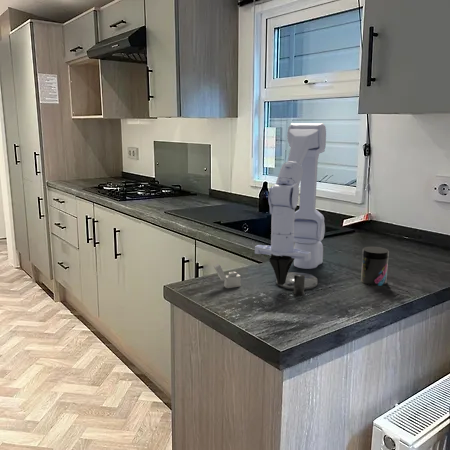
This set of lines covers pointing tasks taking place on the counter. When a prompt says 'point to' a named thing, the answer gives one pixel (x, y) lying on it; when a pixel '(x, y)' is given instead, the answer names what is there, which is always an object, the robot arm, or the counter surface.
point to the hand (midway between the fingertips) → (281, 283)
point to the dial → (299, 282)
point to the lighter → (228, 277)
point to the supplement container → (374, 266)
